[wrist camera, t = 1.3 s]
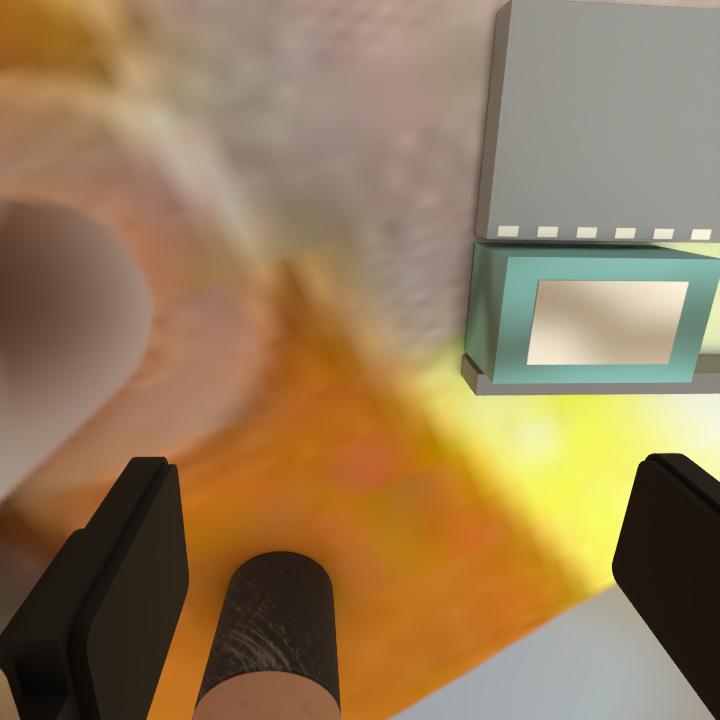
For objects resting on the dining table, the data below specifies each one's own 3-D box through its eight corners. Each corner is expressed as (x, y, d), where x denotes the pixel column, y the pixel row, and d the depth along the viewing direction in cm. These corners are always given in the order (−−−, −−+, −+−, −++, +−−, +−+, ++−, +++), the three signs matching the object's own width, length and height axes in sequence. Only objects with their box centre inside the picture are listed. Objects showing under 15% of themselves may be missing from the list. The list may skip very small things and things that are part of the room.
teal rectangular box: (475, 243, 26) (509, 257, 21) (654, 245, 27) (726, 260, 22) (464, 349, 28) (493, 384, 24) (631, 349, 29) (692, 383, 24)
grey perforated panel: (496, 13, 23) (521, -11, 20) (893, 32, 24) (968, 13, 22) (461, 374, 29) (475, 395, 26) (779, 372, 30) (825, 392, 28)
